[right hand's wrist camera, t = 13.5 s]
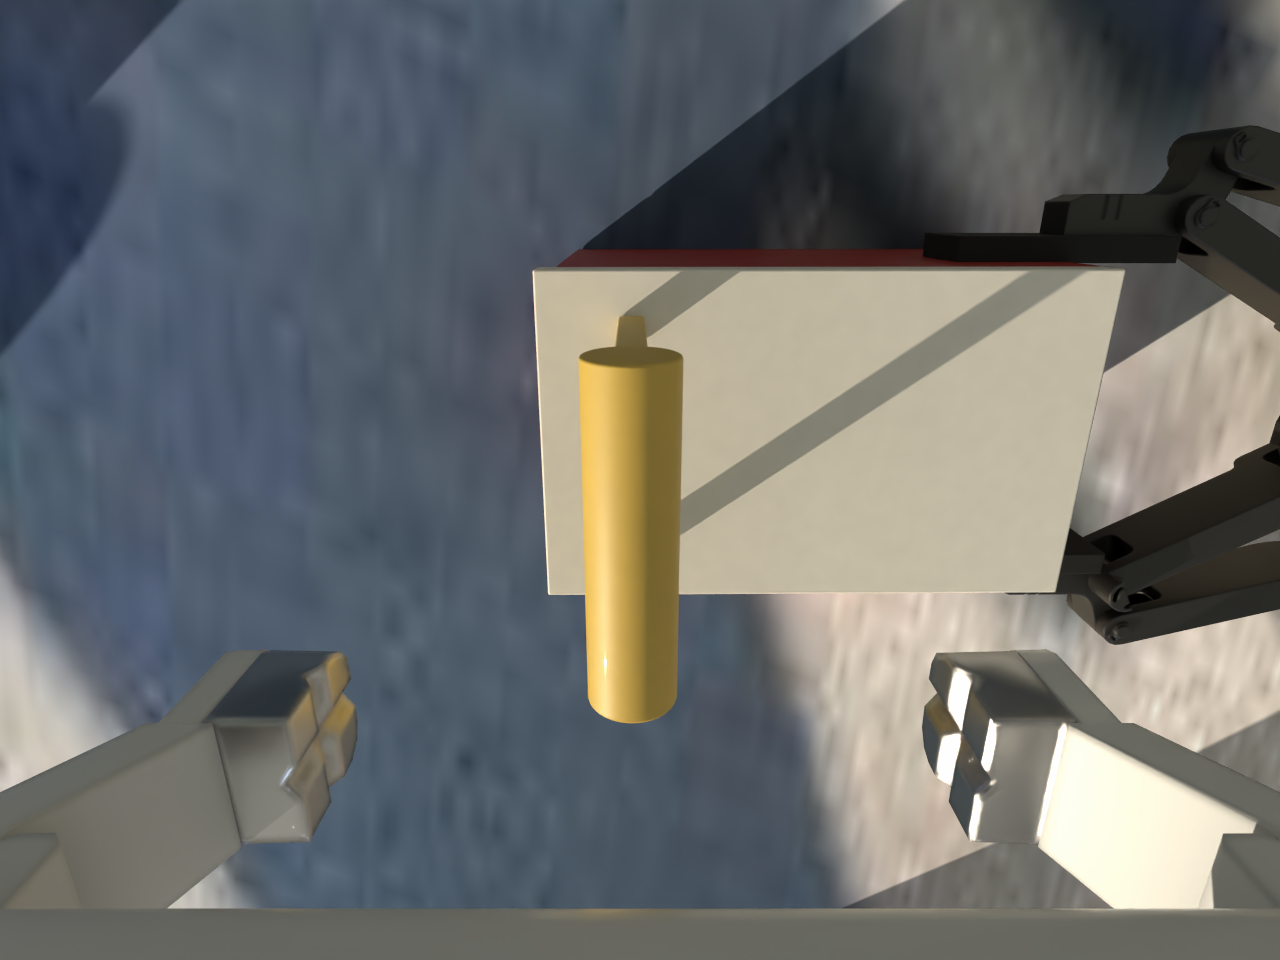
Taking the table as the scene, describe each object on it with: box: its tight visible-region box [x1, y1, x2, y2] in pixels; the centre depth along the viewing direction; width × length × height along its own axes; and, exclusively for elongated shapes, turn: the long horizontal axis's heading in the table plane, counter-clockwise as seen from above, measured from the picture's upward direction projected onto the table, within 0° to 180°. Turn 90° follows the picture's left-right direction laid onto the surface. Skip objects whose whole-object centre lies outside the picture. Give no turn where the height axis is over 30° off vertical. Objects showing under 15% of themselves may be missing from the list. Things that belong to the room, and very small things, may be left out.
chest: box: [557, 249, 1101, 267], centre depth 26 cm, size 15×10×9 cm, turn 90°
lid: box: [533, 267, 1126, 723], centre depth 18 cm, size 16×10×8 cm, turn 90°
